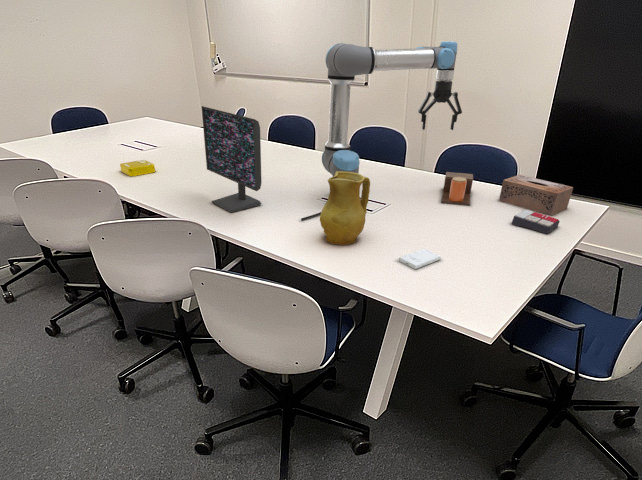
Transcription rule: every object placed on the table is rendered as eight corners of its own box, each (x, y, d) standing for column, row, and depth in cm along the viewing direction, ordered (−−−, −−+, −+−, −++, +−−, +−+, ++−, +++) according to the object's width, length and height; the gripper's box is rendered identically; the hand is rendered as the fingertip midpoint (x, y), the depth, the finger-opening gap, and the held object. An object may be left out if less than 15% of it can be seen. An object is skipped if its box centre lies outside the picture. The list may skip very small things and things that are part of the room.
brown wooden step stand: (469, 205, 206) (473, 187, 202) (441, 203, 209) (443, 185, 205) (469, 190, 226) (473, 174, 221) (443, 188, 229) (446, 171, 224)
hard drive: (440, 260, 157) (415, 269, 151) (422, 252, 163) (398, 260, 157) (440, 256, 157) (416, 265, 150) (423, 248, 162) (398, 256, 156)
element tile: (120, 171, 253) (118, 162, 250) (145, 166, 261) (144, 158, 259) (130, 177, 243) (128, 168, 241) (156, 172, 252) (155, 163, 249)
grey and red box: (550, 225, 176) (514, 214, 184) (546, 235, 178) (511, 223, 187) (560, 218, 182) (525, 208, 191) (557, 228, 185) (522, 217, 193)
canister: (463, 202, 207) (467, 181, 202) (448, 200, 209) (451, 180, 204) (463, 197, 213) (467, 177, 208) (448, 196, 215) (452, 176, 209)
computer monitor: (198, 196, 216) (186, 107, 195) (227, 189, 225) (219, 104, 204) (246, 221, 188) (238, 121, 167) (277, 213, 197) (273, 116, 176)
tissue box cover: (566, 208, 203) (573, 187, 198) (551, 215, 196) (557, 193, 190) (514, 194, 220) (519, 174, 215) (498, 200, 213) (503, 179, 207)
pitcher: (317, 229, 180) (320, 167, 166) (362, 230, 182) (370, 169, 168) (319, 248, 166) (324, 182, 152) (369, 249, 167) (378, 184, 154)
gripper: (469, 79, 206) (461, 128, 217) (415, 79, 207) (410, 127, 218) (473, 81, 200) (465, 131, 211) (418, 81, 200) (412, 130, 211)
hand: (437, 129), depth 214 cm, fingers open, 13 cm apart
